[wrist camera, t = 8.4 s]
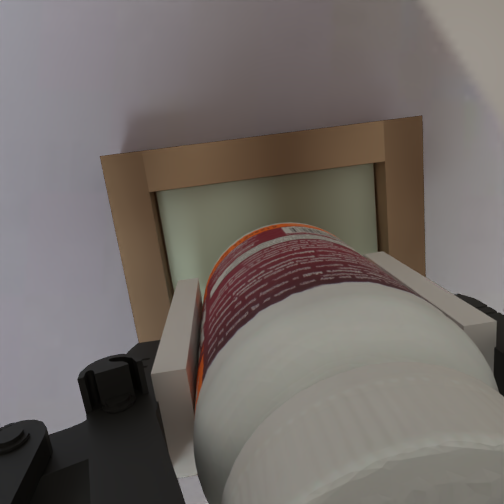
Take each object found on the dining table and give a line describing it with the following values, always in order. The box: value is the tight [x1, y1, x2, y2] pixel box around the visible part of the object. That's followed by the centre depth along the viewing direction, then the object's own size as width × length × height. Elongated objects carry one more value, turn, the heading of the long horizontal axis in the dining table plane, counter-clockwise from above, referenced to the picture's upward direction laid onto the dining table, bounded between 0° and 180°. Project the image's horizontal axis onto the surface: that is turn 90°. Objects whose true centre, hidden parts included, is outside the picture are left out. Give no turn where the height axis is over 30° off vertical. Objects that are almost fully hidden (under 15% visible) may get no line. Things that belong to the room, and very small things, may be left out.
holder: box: [100, 116, 426, 343], centre depth 18 cm, size 12×12×3 cm
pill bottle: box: [193, 222, 504, 504], centre depth 10 cm, size 6×6×11 cm
